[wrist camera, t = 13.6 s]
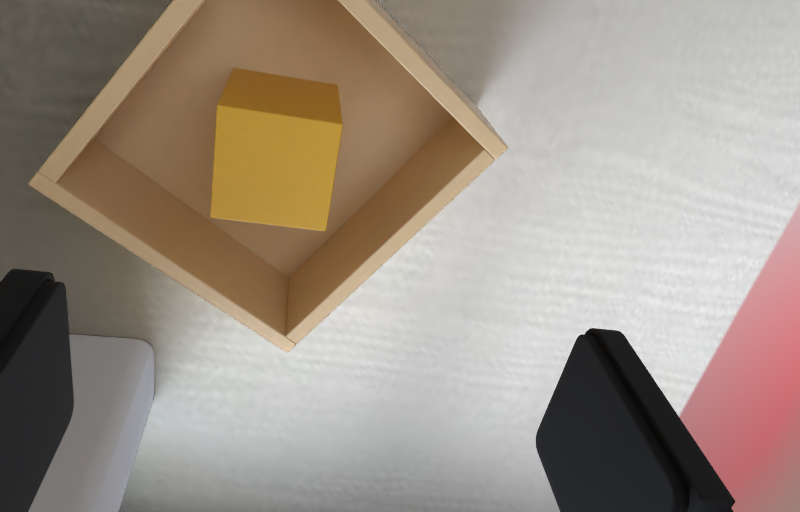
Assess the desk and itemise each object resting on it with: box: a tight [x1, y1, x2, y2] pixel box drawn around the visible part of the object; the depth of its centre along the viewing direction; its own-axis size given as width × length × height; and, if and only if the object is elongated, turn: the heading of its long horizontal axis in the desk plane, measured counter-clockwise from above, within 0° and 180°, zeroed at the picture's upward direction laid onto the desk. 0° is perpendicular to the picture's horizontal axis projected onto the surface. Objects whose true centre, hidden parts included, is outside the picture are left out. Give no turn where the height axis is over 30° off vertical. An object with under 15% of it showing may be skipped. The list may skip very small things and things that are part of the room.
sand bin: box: [29, 0, 508, 353], centre depth 26 cm, size 13×12×6 cm
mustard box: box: [210, 68, 343, 231], centre depth 26 cm, size 4×4×6 cm
